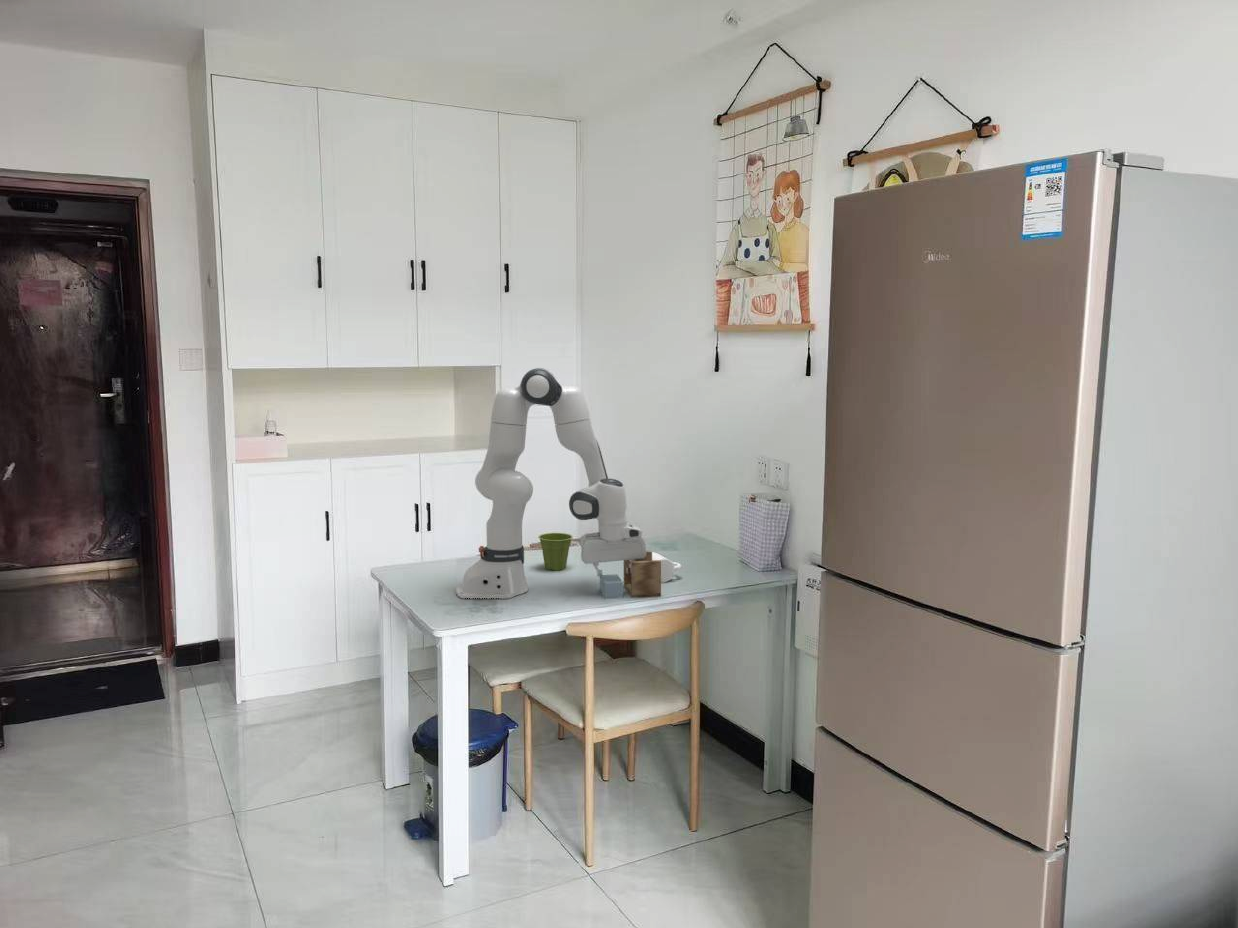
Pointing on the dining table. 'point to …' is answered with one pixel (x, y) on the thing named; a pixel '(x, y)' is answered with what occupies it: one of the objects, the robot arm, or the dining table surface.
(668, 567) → the mug
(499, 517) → the robot arm
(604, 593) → the light blue block
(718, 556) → the dining table surface
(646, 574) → the stand
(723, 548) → the dining table surface
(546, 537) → the plant pot
